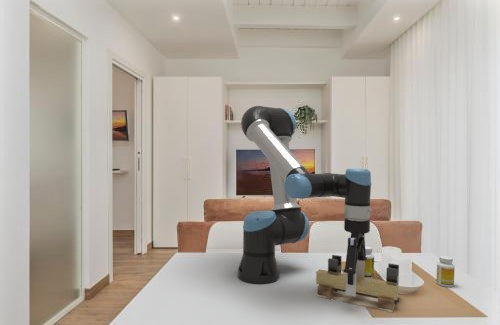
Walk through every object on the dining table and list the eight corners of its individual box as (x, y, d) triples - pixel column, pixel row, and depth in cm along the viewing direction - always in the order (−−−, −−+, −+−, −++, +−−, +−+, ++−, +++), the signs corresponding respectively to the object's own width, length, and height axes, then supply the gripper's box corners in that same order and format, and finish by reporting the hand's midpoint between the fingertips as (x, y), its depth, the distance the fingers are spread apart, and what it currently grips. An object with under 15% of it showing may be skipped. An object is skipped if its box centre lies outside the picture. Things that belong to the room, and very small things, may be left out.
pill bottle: (374, 280, 122) (375, 250, 122) (357, 279, 124) (357, 248, 124) (372, 275, 129) (373, 245, 128) (355, 273, 130) (355, 244, 130)
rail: (316, 284, 110) (316, 271, 110) (318, 281, 112) (319, 269, 112) (397, 300, 98) (397, 286, 98) (398, 296, 101) (398, 283, 101)
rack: (325, 290, 113) (326, 258, 113) (330, 284, 118) (331, 254, 118) (398, 304, 102) (399, 270, 102) (399, 297, 108) (400, 265, 107)
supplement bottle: (432, 282, 122) (433, 255, 121) (444, 281, 123) (444, 254, 123) (446, 288, 117) (447, 260, 116) (457, 286, 118) (458, 259, 118)
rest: (317, 296, 107) (317, 286, 107) (323, 289, 114) (323, 280, 114) (392, 312, 97) (392, 302, 97) (394, 303, 103) (395, 293, 103)
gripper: (362, 227, 92) (360, 304, 93) (375, 214, 114) (374, 277, 115) (334, 223, 96) (332, 299, 96) (352, 212, 118) (351, 273, 118)
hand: (355, 287), depth 105 cm, fingers open, 13 cm apart
